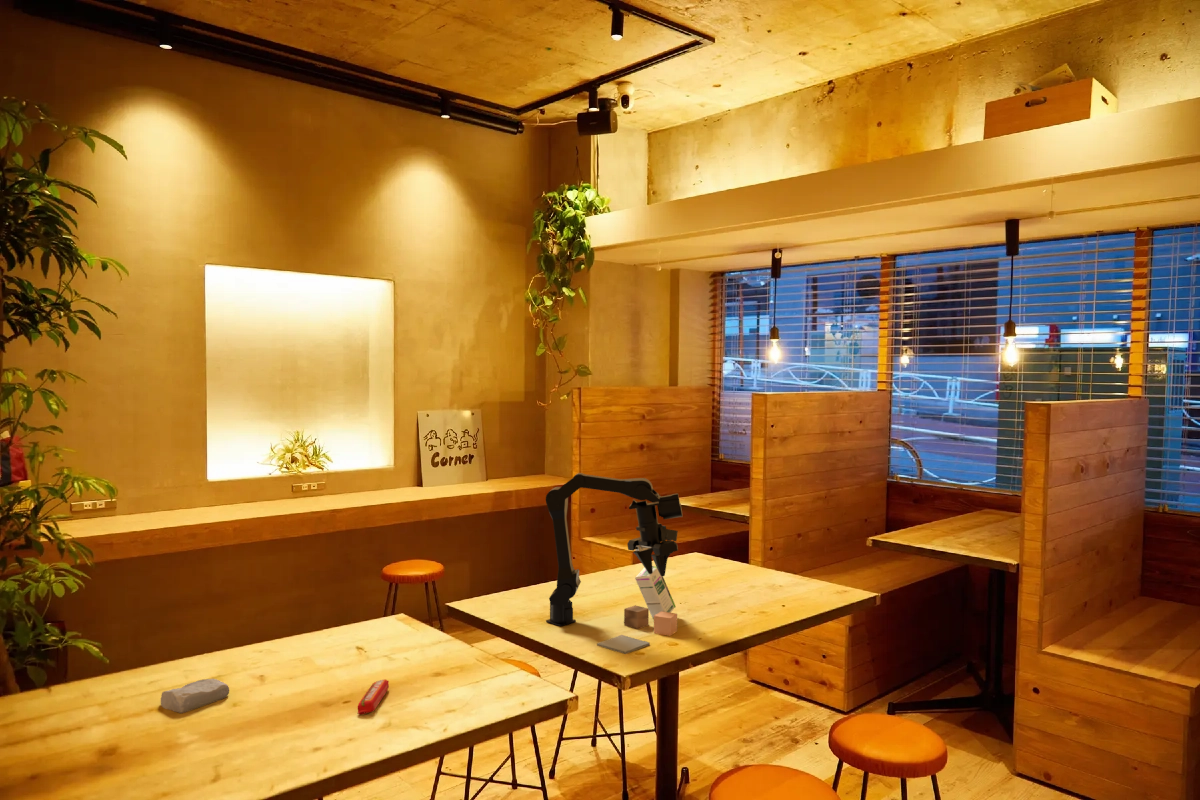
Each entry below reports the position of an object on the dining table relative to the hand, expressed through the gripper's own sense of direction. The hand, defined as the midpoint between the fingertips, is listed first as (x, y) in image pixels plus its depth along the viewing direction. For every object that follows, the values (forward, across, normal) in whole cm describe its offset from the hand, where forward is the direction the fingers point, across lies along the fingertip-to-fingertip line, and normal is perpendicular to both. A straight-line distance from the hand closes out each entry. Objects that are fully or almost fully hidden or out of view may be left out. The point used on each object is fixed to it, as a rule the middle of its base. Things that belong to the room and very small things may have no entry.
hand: (656, 574), depth 237 cm
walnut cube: (+14, +4, +7) cm, 16 cm away
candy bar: (+5, -16, +87) cm, 89 cm away
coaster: (+13, -9, +19) cm, 25 cm away
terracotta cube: (+15, -5, +3) cm, 16 cm away
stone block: (-1, +3, +122) cm, 122 cm away
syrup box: (+14, +7, -5) cm, 16 cm away
